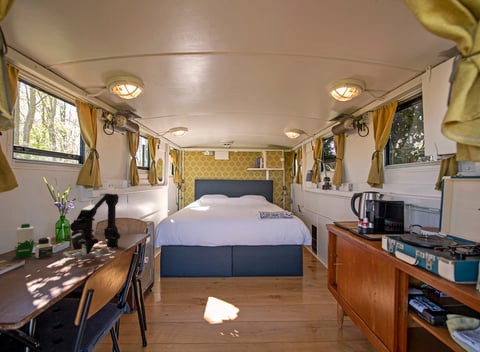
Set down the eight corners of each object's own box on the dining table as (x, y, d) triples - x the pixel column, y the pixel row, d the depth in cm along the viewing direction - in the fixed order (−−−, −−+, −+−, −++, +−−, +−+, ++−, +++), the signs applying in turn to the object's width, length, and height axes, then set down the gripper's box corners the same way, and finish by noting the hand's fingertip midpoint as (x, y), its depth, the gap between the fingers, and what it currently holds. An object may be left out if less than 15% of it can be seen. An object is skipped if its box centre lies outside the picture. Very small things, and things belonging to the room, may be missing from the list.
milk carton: (33, 253, 157) (34, 223, 158) (33, 256, 151) (34, 224, 151) (14, 255, 152) (16, 224, 152) (14, 259, 145) (15, 226, 146)
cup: (72, 247, 172) (73, 231, 173) (94, 245, 178) (95, 229, 178) (68, 251, 163) (69, 233, 164) (92, 249, 169) (92, 232, 169)
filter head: (105, 251, 163) (105, 247, 163) (112, 254, 158) (112, 249, 158) (75, 258, 148) (75, 253, 149) (82, 261, 143) (82, 256, 143)
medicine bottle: (38, 259, 145) (39, 239, 145) (35, 257, 149) (36, 238, 150) (52, 256, 151) (53, 237, 151) (49, 254, 155) (50, 236, 155)
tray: (80, 252, 160) (80, 249, 160) (87, 255, 155) (87, 251, 155) (63, 256, 152) (63, 252, 152) (69, 259, 146) (69, 255, 146)
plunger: (105, 250, 161) (105, 246, 161) (108, 251, 158) (108, 246, 159) (100, 251, 158) (100, 247, 158) (102, 252, 155) (102, 248, 156)
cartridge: (88, 254, 152) (88, 242, 153) (91, 256, 150) (92, 243, 150) (80, 256, 148) (80, 243, 149) (83, 258, 146) (83, 244, 146)
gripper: (66, 228, 148) (65, 253, 148) (78, 232, 138) (77, 259, 137) (86, 226, 158) (85, 249, 157) (99, 229, 147) (98, 254, 146)
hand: (86, 253), depth 149 cm, fingers closed on cartridge, 5 cm apart
